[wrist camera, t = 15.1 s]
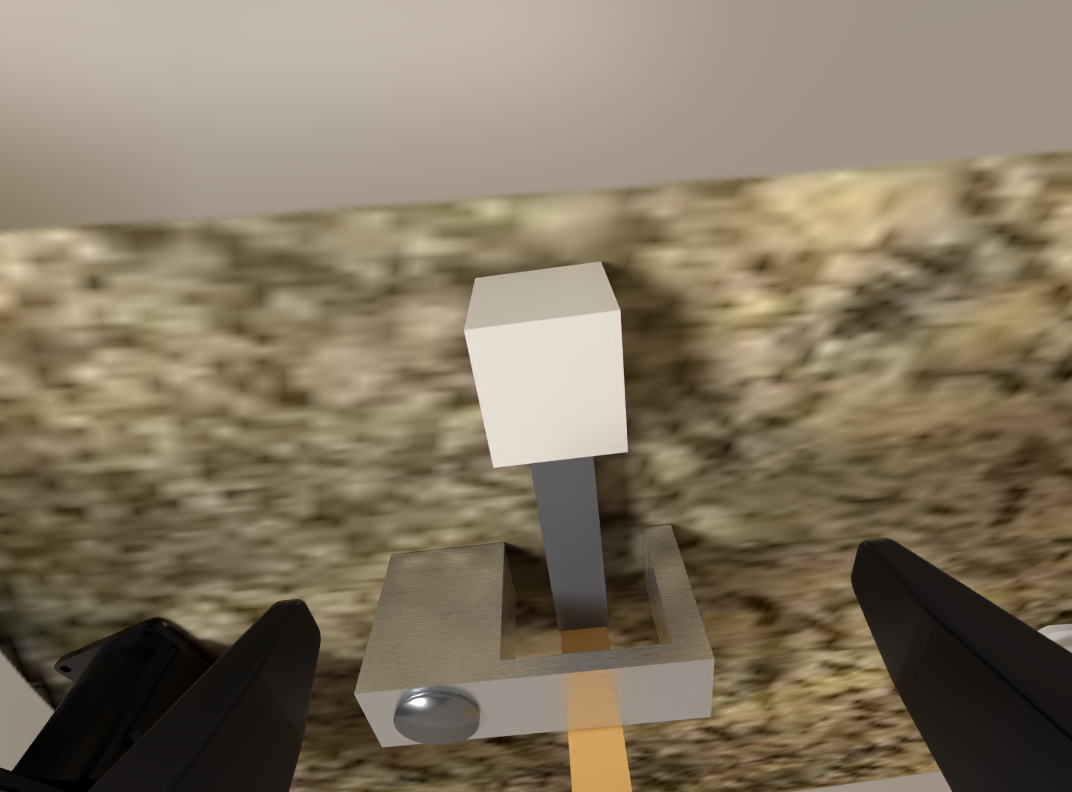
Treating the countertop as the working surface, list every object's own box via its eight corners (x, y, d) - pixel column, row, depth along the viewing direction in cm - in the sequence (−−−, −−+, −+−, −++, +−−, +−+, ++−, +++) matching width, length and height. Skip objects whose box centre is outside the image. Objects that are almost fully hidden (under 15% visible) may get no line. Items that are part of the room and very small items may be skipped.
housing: (671, 579, 25) (712, 723, 20) (410, 607, 26) (380, 754, 20) (670, 524, 23) (716, 665, 18) (391, 555, 24) (352, 701, 18)
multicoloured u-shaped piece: (625, 617, 26) (670, 858, 18) (542, 626, 26) (551, 867, 18) (600, 261, 17) (668, 429, 9) (475, 278, 17) (436, 456, 9)
